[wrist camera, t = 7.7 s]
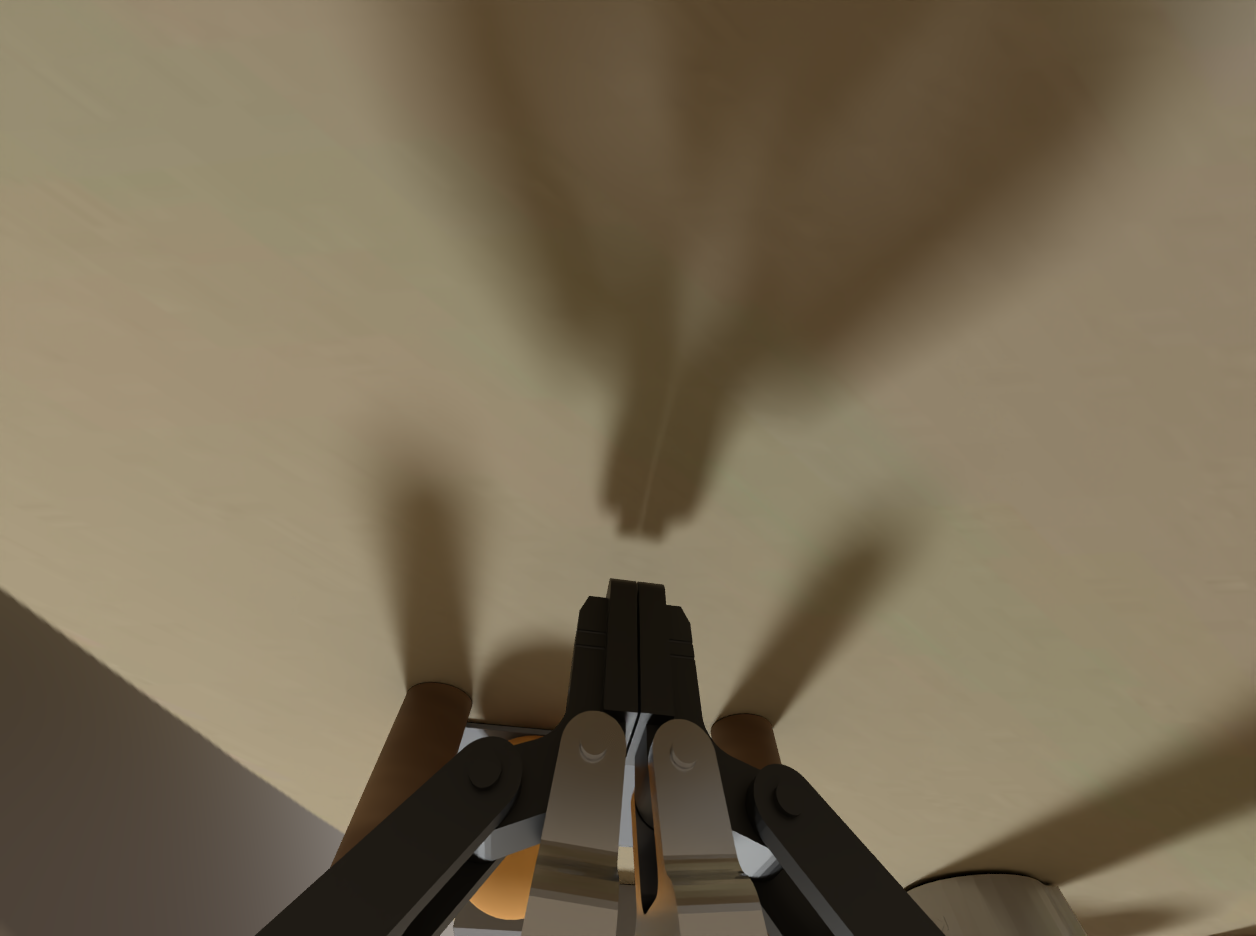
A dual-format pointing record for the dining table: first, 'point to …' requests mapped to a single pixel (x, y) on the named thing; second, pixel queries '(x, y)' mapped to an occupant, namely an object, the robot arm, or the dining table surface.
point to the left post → (410, 754)
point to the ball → (509, 879)
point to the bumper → (486, 932)
